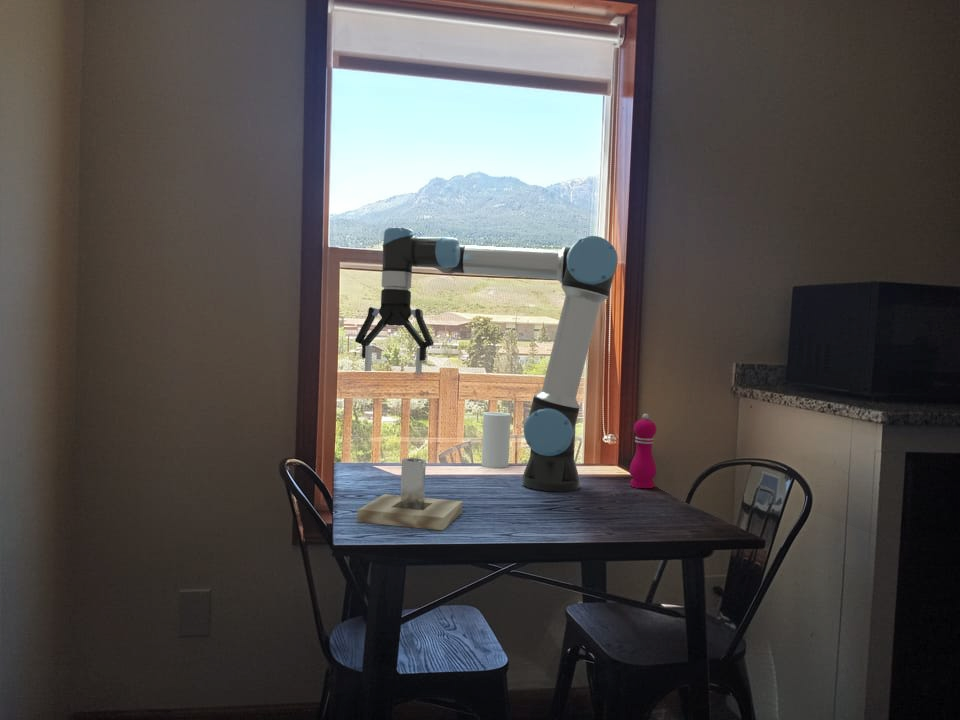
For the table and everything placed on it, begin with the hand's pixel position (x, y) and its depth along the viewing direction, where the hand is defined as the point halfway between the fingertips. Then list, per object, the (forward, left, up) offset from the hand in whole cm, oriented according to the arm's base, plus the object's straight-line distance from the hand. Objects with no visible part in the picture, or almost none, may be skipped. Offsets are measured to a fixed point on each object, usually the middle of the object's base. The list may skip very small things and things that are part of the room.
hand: (393, 372), depth 187 cm
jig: (-16, +31, -29) cm, 45 cm away
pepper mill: (-64, -25, -29) cm, 74 cm away
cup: (-20, -40, -29) cm, 53 cm away
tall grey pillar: (-16, +31, -29) cm, 45 cm away
